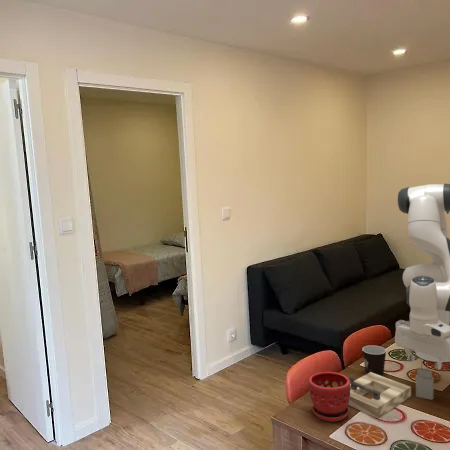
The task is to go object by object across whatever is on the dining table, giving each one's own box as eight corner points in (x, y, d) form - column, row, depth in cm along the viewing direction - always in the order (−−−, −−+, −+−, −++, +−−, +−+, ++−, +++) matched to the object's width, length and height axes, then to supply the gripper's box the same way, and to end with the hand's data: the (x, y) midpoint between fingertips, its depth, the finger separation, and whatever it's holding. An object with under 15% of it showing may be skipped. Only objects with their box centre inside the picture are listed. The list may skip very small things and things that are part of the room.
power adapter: (417, 392, 158) (416, 359, 156) (433, 396, 155) (433, 362, 153) (415, 396, 155) (415, 363, 154) (432, 400, 152) (432, 366, 151)
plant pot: (359, 413, 147) (358, 378, 145) (333, 429, 138) (332, 393, 137) (326, 399, 157) (325, 366, 155) (301, 413, 149) (300, 379, 147)
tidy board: (370, 380, 168) (370, 360, 167) (410, 396, 155) (410, 374, 154) (336, 399, 156) (336, 377, 155) (377, 418, 143) (377, 394, 142)
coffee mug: (387, 380, 168) (387, 354, 167) (363, 379, 170) (363, 354, 168) (383, 366, 179) (383, 342, 178) (361, 365, 181) (360, 342, 180)
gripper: (390, 320, 158) (391, 358, 160) (449, 334, 142) (449, 376, 143) (400, 316, 162) (401, 353, 163) (458, 329, 146) (458, 370, 147)
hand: (424, 364), depth 153 cm, fingers open, 8 cm apart
